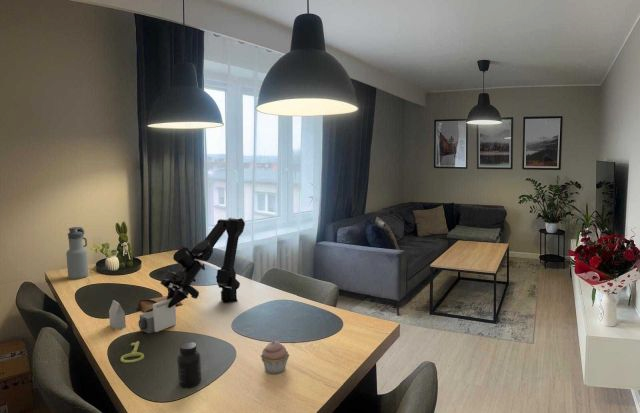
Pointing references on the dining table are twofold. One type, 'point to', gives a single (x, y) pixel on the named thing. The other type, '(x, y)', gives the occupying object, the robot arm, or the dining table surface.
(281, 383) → the dining table surface
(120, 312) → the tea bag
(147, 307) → the sunglasses case
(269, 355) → the cupcake
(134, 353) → the key
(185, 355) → the supplement bottle
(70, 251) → the water bottle
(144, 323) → the grey rectangular block
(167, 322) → the side door
